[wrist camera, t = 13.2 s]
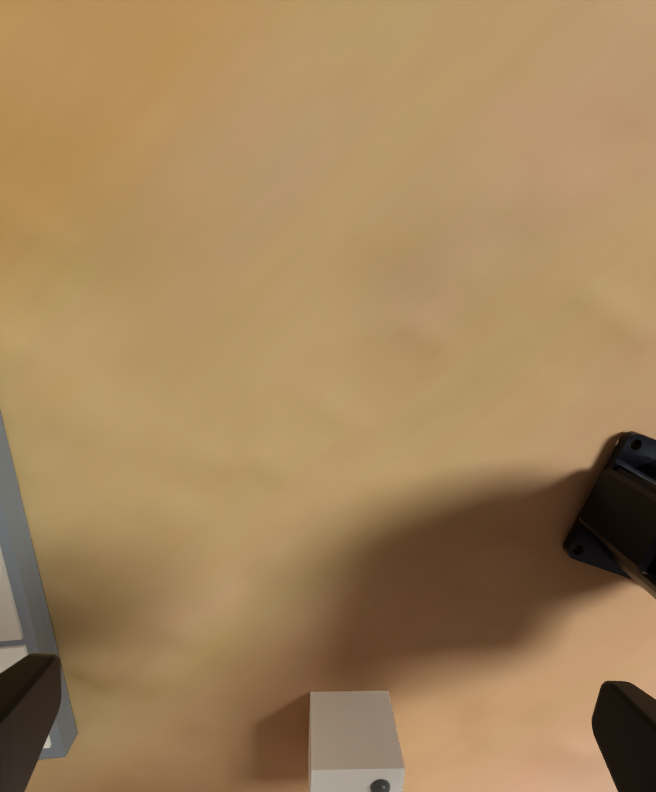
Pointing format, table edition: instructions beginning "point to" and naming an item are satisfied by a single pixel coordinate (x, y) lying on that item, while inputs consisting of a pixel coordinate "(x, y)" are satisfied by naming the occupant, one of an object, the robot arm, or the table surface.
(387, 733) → the die
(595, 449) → the table surface
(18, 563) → the board
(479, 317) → the table surface
